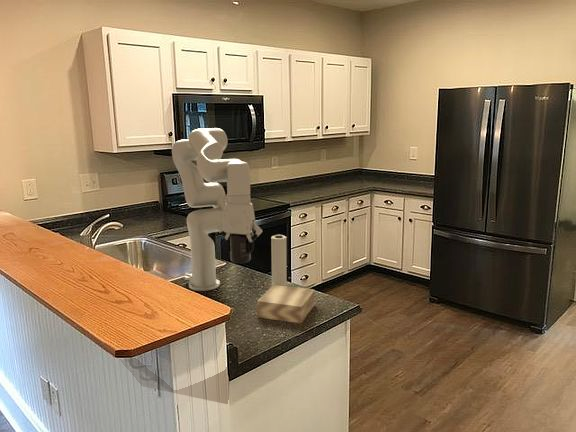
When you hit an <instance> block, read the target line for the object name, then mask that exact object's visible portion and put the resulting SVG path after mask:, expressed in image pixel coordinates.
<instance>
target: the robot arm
mask: <svg viewBox="0 0 576 432" xmlns="http://www.w3.org/2000/svg"><path fill="white" fill-rule="evenodd" d="M227 146H228V136H227V134H226V132H225V131H224V130H223V129H221V128H218V127H214V128H213V127H212V128H210V127H209V128H205V127H204V128H203V127H202V128H197V129H194V130H192V131H191V132H190V133H189V134H188V137H187V139H180V140H179V139H178V140H177V141H175V142H174V143H173V144H172V147H171V156H172V160H173V164H174V166H175V168H176V170H177V172H178V173H179V175H180V180H181V185H182V189H183V193H184V199H185V201H186V204H187V205H188V207H189V208H195V209H196V208H204V207H212V208H205V209H197V210H193V211H192V212H190V213H188V215H187V217H186V225H187V230H188V234H189V235H188V236H189V242H190V243H189V245H190V259H191V260H190V261H191V273H185V274H184V280H185V281H186V280H188V281H189V283H188V288H189V289H190V290H192V291H197V292H206V291H211V290H213V291H214V290H215V289H218V288H219V287H221V286H220V285H221V282H220V280H219V279H217V271H216V268H217V267H216V250H215V249H216V248H215V247H216V246H215V242H214V240H213V239H212V238H211V237H210V236H209V234H211V233H218V232H220V233H221V235H222V236H223V237H224V239H225V240H226V242H225V243H226V249H227V252H230V235H231V234H240V235H246V236H247V238H248V240H249V242H247V249H248V254H250V253H253V252H254V251H255V240H256V239H258V237H260V235H261V234H262V233H263V229H262V228H261V227H260V226H259V225H258V224H257V223H256V216H255V211H254V206H253V205H254V204H253V203H252V202H251V170H250V164H249V163H248V162H246V161H242V160H241V159H239V158H228V159H227V158H224V159H222V156H223V154H224V150H226V148H227ZM192 161H196V164H195V163H194V162H192ZM205 181H206V182H205ZM221 183H226V191H227V192H225V189H224V187H223V185H222V184H221ZM226 193H227V194H226ZM254 232H255V233H254Z"/></svg>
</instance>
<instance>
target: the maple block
mask: <svg viewBox="0 0 576 432" xmlns="http://www.w3.org/2000/svg"><path fill="white" fill-rule="evenodd" d="M256 302H257V304H256V305H257V307H256V308H257V309H256V310H257V311H256V312H257V313H256V315H257V318H261V319H267V320H275V321H280V322H289V323H295V324H303V322H304V321H305V319H306V318H307V317H308V315H309V314H310V312H311V311H312V309H313V308H314V306H315V289H313V288H311V289H310V288H303V287H295V286H288V285H287V286H279V285H273V286H272V285H271V286H270V288H269V289H267V290H266V291H265V292H264V293H263V295H262V296H260V298H259V299H258V300H257V301H256Z"/></svg>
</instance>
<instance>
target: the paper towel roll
mask: <svg viewBox="0 0 576 432" xmlns="http://www.w3.org/2000/svg"><path fill="white" fill-rule="evenodd" d="M270 239H271V243H270V244H271V245H270V246H271V251H270V252H271V253H270V254H271V287H272V286H273V285H279V286H287V287H288V285H287V283H288V282H287V281H288V280H287V279H288V278H287V275H288V274H287V268H288V267H287V236H285V235H283V234H279V233H278V234H275V235H272V236H271V238H270Z"/></svg>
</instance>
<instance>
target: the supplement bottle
mask: <svg viewBox="0 0 576 432" xmlns="http://www.w3.org/2000/svg"><path fill="white" fill-rule="evenodd" d="M247 242H249V240H248V238H247V236H246V235H240V234H231V235H230V251H229V253H230V254H229V256H230V261H231V262H232V263H235V264H245V263H248V262H250V261H251V259H252V257H251V256H252V255H251V253H250V254H248V249H247Z"/></svg>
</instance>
